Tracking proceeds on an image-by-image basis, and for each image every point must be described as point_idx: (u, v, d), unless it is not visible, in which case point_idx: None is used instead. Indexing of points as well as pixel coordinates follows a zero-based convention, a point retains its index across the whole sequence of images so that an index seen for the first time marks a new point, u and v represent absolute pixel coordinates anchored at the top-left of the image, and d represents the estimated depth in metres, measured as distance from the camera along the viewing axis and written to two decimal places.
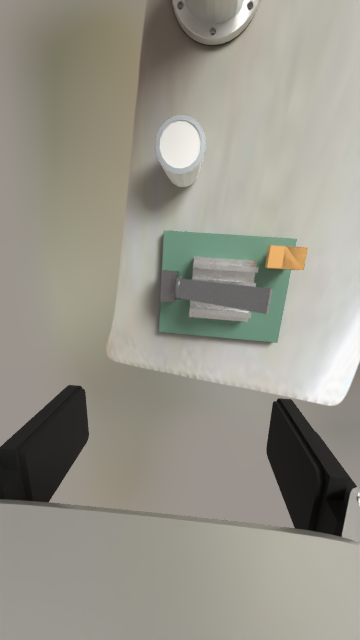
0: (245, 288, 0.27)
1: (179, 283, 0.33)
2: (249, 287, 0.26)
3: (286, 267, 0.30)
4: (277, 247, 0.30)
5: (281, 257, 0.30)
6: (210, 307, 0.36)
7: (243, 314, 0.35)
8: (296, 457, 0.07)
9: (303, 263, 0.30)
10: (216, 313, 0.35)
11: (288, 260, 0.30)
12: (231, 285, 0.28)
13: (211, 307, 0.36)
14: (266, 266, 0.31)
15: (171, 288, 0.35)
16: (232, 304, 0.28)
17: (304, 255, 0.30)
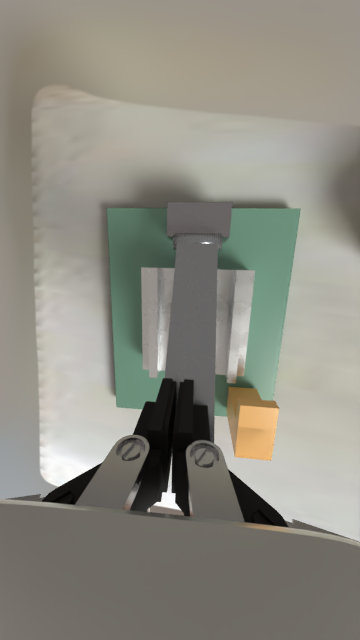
0: (209, 396, 0.12)
1: (207, 243, 0.16)
2: (211, 405, 0.12)
3: (239, 433, 0.18)
4: (274, 418, 0.17)
5: (256, 425, 0.17)
6: (162, 306, 0.20)
7: (153, 365, 0.20)
8: None
9: (245, 456, 0.18)
10: (151, 319, 0.19)
11: (251, 435, 0.18)
12: (213, 363, 0.13)
13: (162, 308, 0.20)
14: (241, 402, 0.17)
15: (194, 226, 0.17)
16: (172, 369, 0.13)
17: (258, 456, 0.18)
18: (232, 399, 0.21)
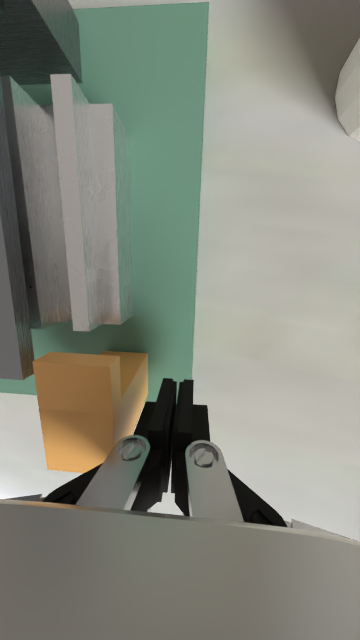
0: (7, 314, 0.09)
1: None
2: (11, 325, 0.09)
3: (45, 422, 0.09)
4: (105, 389, 0.08)
5: (74, 405, 0.08)
6: None
7: None
8: None
9: (66, 468, 0.09)
10: None
11: (69, 426, 0.09)
12: (4, 267, 0.09)
13: None
14: (43, 358, 0.08)
15: None
16: None
17: None
18: None
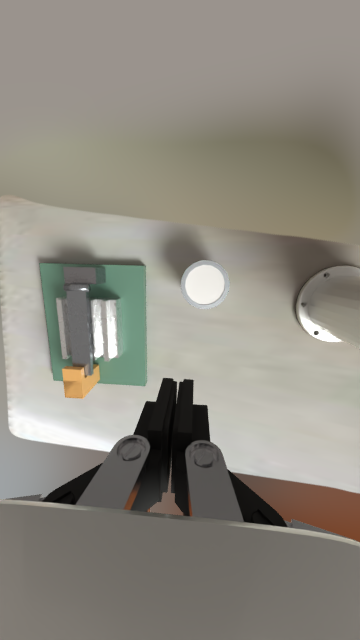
0: (88, 358, 0.34)
1: (80, 291, 0.32)
2: (89, 361, 0.34)
3: (64, 384, 0.34)
4: (79, 375, 0.34)
5: (72, 379, 0.34)
6: None
7: (64, 351, 0.36)
8: None
9: (70, 396, 0.35)
10: (60, 326, 0.35)
11: (70, 384, 0.34)
12: (88, 346, 0.34)
13: None
14: (64, 367, 0.34)
15: (78, 279, 0.33)
16: (73, 348, 0.34)
17: (76, 396, 0.34)
18: None
